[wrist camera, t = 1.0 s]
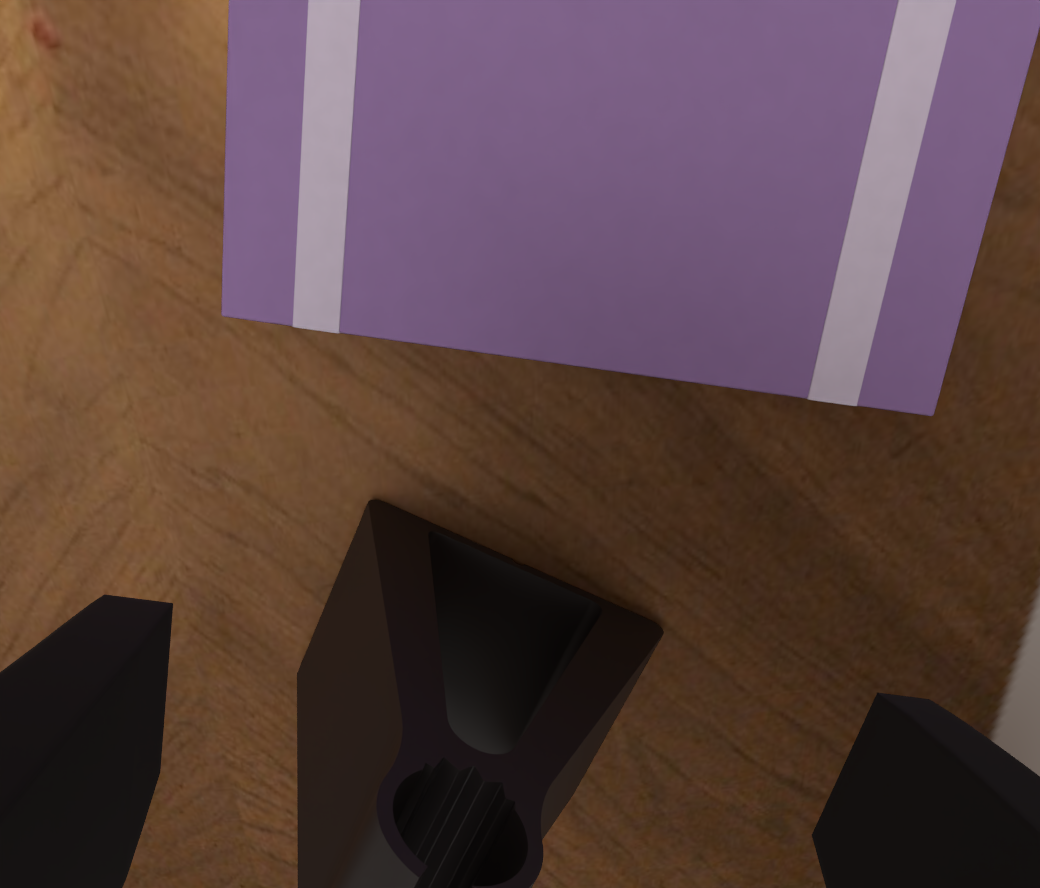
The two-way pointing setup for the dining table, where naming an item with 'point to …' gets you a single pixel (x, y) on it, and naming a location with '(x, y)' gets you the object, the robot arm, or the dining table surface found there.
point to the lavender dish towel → (626, 180)
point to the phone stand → (449, 710)
